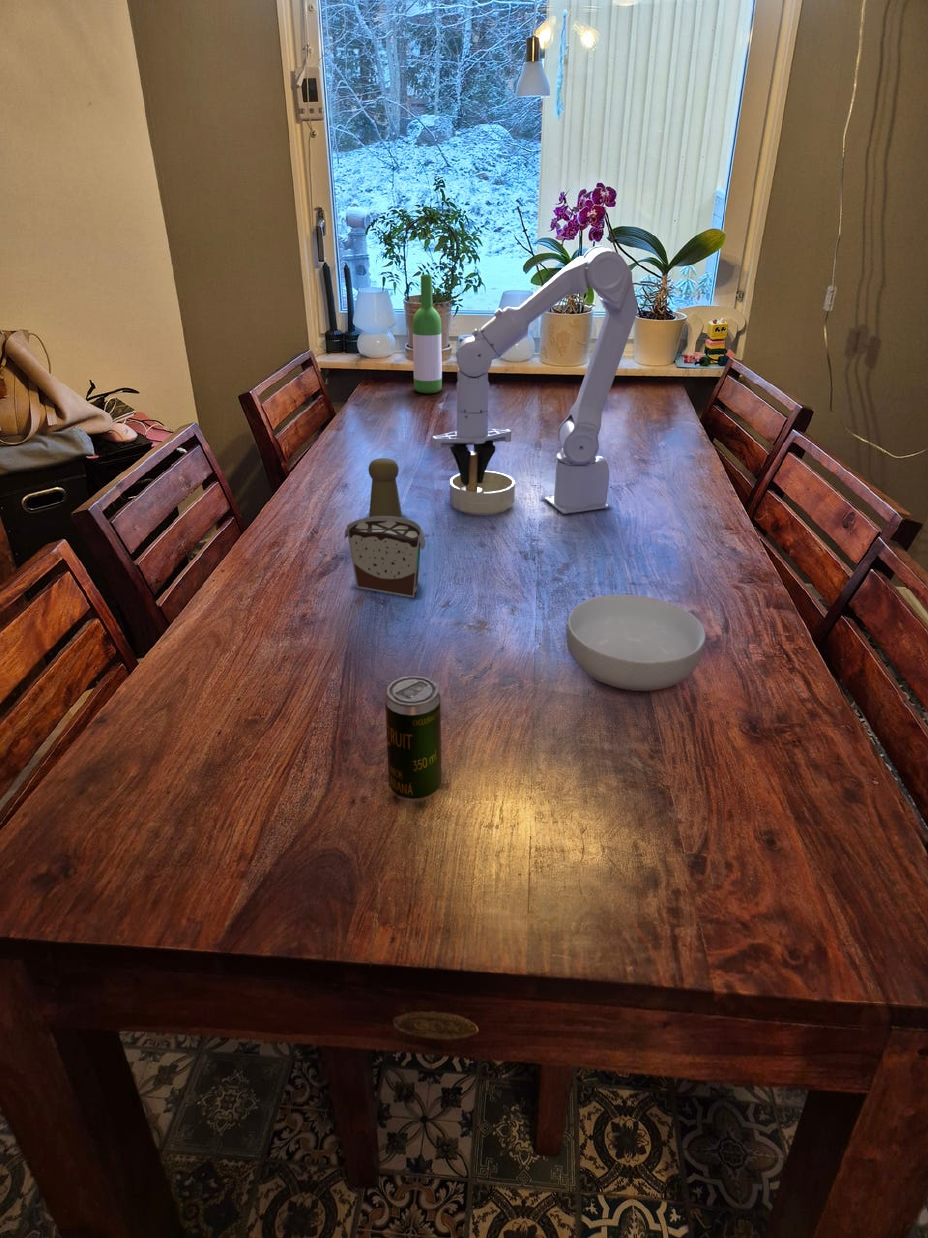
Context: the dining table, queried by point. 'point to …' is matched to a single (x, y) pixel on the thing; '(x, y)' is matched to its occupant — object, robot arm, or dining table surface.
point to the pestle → (473, 474)
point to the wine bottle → (427, 342)
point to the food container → (386, 554)
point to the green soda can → (413, 738)
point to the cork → (384, 488)
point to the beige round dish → (484, 494)
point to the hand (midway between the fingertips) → (471, 482)
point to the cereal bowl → (635, 641)
